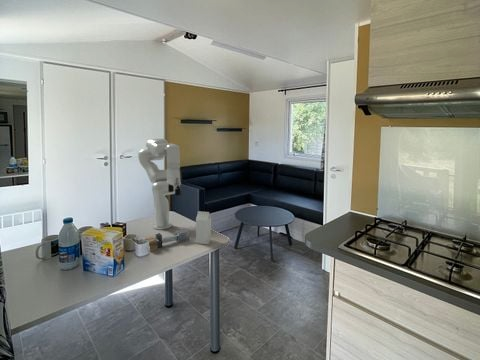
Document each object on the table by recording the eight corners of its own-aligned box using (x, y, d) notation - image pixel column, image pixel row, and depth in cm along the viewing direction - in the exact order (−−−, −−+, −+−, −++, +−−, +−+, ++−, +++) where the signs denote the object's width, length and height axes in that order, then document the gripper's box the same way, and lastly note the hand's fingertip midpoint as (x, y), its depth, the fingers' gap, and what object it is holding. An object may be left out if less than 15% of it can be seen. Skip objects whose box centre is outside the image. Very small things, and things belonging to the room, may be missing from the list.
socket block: (146, 247, 159) (145, 237, 158) (152, 245, 161) (152, 235, 160) (149, 251, 154) (149, 241, 153) (156, 249, 156) (156, 239, 155)
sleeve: (174, 240, 169) (174, 231, 168) (185, 237, 173) (185, 228, 172) (178, 243, 165) (178, 234, 164) (189, 240, 169) (189, 231, 168)
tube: (149, 246, 159) (148, 235, 157) (177, 239, 169) (176, 229, 167) (151, 249, 156) (151, 237, 154) (179, 241, 166) (179, 231, 164)
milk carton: (207, 244, 164) (207, 214, 160) (196, 243, 165) (195, 213, 161) (211, 239, 170) (211, 210, 167) (200, 238, 172) (199, 209, 168)
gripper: (161, 164, 169) (163, 191, 173) (173, 168, 156) (174, 197, 159) (173, 163, 174) (174, 189, 177) (185, 167, 160) (186, 195, 163)
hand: (174, 193), depth 168 cm, fingers open, 9 cm apart
